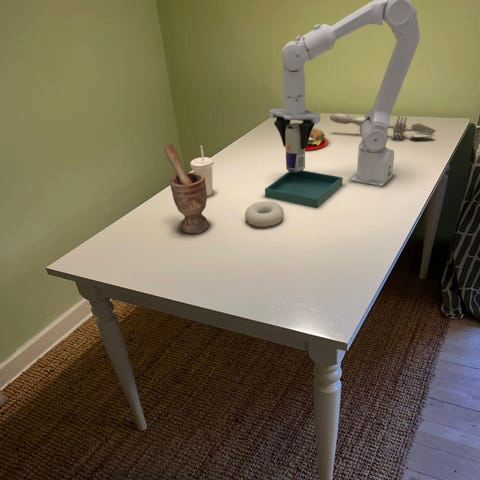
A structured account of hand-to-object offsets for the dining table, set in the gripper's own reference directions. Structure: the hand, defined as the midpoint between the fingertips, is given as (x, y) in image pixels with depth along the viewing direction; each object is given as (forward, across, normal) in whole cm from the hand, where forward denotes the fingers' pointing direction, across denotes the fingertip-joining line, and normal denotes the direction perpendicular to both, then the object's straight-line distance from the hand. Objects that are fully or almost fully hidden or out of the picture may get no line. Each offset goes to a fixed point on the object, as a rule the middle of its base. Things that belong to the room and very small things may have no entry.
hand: (295, 146), depth 134 cm
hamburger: (+10, -12, +28) cm, 33 cm away
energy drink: (+7, 0, 0) cm, 7 cm away
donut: (+10, +4, -24) cm, 26 cm away
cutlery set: (+11, +8, +43) cm, 45 cm away
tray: (+10, +5, -4) cm, 12 cm away
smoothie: (+10, -20, -18) cm, 28 cm away
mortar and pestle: (+10, -12, -35) cm, 38 cm away
